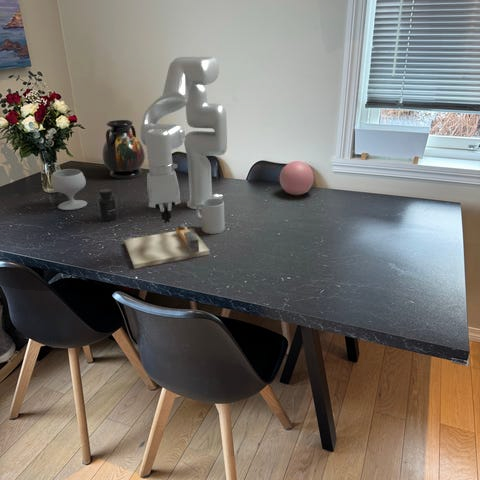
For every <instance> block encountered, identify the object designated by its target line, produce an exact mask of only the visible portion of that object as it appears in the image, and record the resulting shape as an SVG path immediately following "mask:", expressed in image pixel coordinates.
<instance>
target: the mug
mask: <svg viewBox="0 0 480 480" xmlns="http://www.w3.org/2000/svg"><path fill="white" fill-rule="evenodd" d="M199 207H201V210H199ZM200 211H201V213H200ZM195 213H196V214H195V215H196V218H197V219H198V220H199V221H201V229H202V231H203V233H205V234H208V233H209V235H216V234H217V233H218V234H221V233H223V232H224V231H225V227H226V226H225V202H224V200H222V199H206V200H204V201H202V202H201V203H200V204H198V205H197V206H196V209H195Z"/></svg>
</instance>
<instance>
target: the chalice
mask: <svg viewBox="0 0 480 480" xmlns="http://www.w3.org/2000/svg"><path fill="white" fill-rule="evenodd" d="M86 183H87V182H86V177H85V176H84V173H83V172H82V170H80V169H76V168H66V169H65V168H64V169H61V170H56V171H54V172H52V173H51V175H50V185H51V186H50V187H51V189H53V191H55V192H57V193H60V194H63V195H66V197H68V198H69V199H68V200H67V201H64V202H62V203H60V204H59V205H58V206H57V208H58V209H59V210H63V211H72V210H73V211H75V210H79V209H81V208H84V207H86V206H87V205H88V202H87V201H85V200H82V199H75V195H76V193H78V192H79V191H81V190H82V189H84V188H85V186H86V185H87V184H86Z"/></svg>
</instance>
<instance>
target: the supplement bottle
mask: <svg viewBox="0 0 480 480" xmlns="http://www.w3.org/2000/svg"><path fill="white" fill-rule="evenodd" d="M99 196H100V197H98V198H97V204H98V209H99V217H100V220H101V221H103V222H114V221H116V220H117V219H118V217H119V214H118V207H117V206H118V205H117V199H116V197H115V196H114V193H113V190H112V189H111V188H104V189H100V190H99Z"/></svg>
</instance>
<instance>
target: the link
mask: <svg viewBox="0 0 480 480" xmlns="http://www.w3.org/2000/svg"><path fill="white" fill-rule="evenodd" d="M187 229H188V227H187V226H185V229H182V230H180V229H178V226H177V227H176V228H175V231H176V234H177V235H179V236H180V237H181V238H182V239H183V241H184V242H185V243H186V245H187V246H188V244H187V239H186V238H185V236H184V233H185V232H188V231H187Z"/></svg>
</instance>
